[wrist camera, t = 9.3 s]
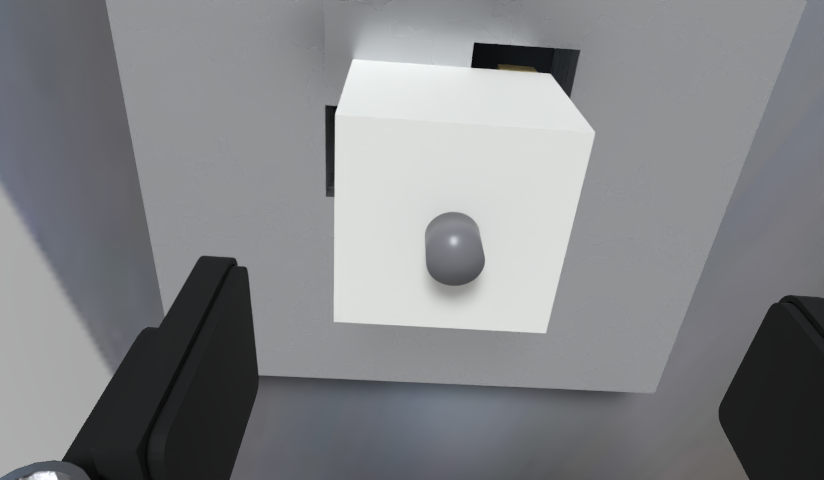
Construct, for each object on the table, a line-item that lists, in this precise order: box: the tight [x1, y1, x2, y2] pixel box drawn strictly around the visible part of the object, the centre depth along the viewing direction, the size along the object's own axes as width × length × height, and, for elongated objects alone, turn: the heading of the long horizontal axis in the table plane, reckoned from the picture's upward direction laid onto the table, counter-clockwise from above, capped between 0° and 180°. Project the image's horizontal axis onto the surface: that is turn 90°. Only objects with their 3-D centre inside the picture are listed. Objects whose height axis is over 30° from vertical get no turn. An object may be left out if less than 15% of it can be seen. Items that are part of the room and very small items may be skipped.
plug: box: [334, 59, 595, 333], centre depth 17 cm, size 6×6×8 cm
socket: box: [106, 0, 807, 393], centre depth 20 cm, size 20×20×4 cm
